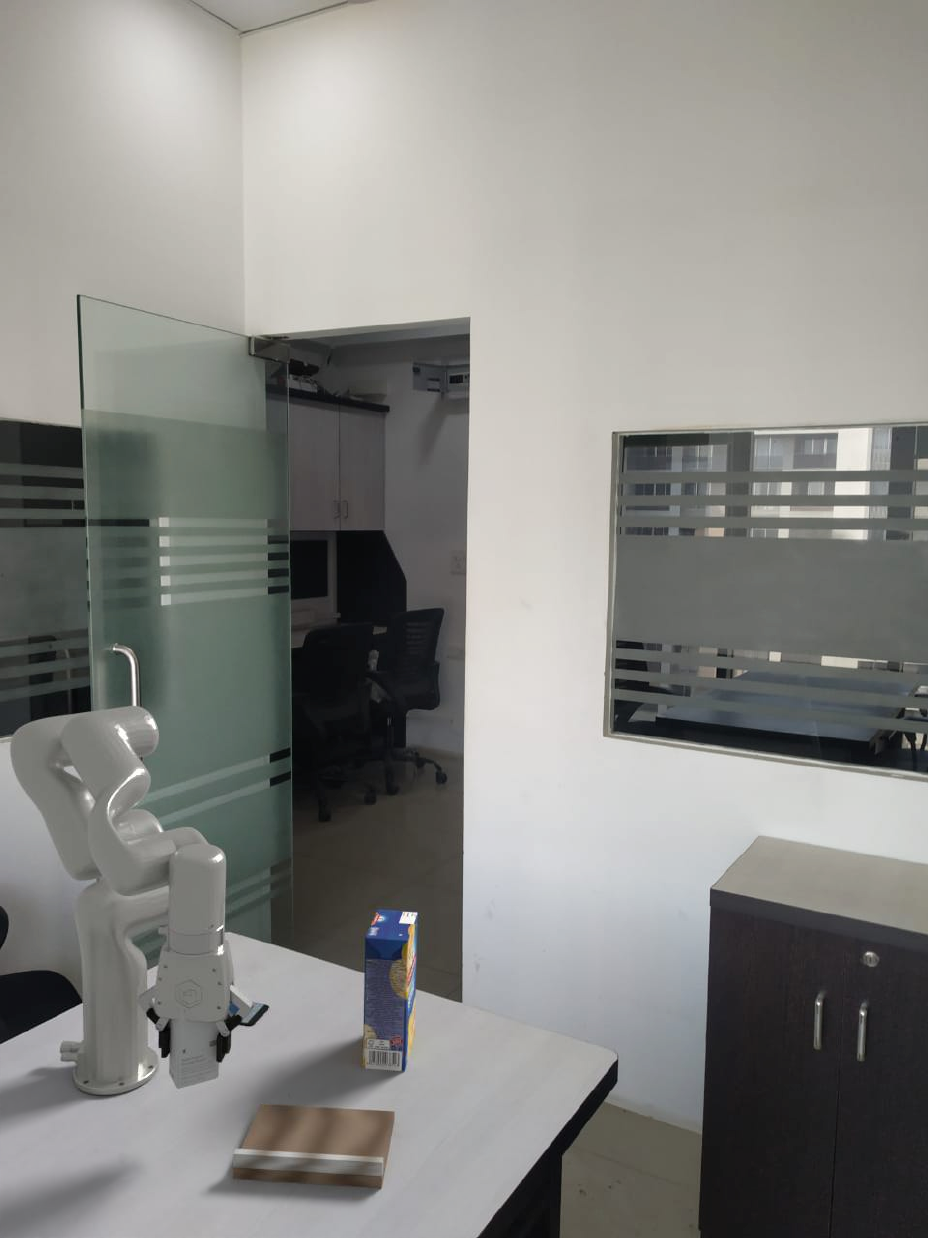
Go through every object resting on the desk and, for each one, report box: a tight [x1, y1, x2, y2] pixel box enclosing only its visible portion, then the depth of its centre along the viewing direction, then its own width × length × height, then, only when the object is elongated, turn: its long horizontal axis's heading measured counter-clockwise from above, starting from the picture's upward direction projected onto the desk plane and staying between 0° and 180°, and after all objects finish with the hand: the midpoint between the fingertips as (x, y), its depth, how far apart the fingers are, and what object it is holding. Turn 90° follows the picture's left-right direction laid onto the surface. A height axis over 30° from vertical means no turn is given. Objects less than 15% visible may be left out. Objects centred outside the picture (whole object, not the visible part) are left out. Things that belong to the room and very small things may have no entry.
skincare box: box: [168, 1006, 220, 1090], centre depth 134 cm, size 6×4×12 cm
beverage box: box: [362, 909, 419, 1072], centre depth 158 cm, size 7×11×22 cm, turn 175°
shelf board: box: [232, 1103, 395, 1189], centre depth 134 cm, size 20×14×4 cm
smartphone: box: [229, 1001, 270, 1027], centre depth 170 cm, size 7×1×15 cm
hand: (194, 1054), depth 134 cm, fingers closed on skincare box, 7 cm apart
